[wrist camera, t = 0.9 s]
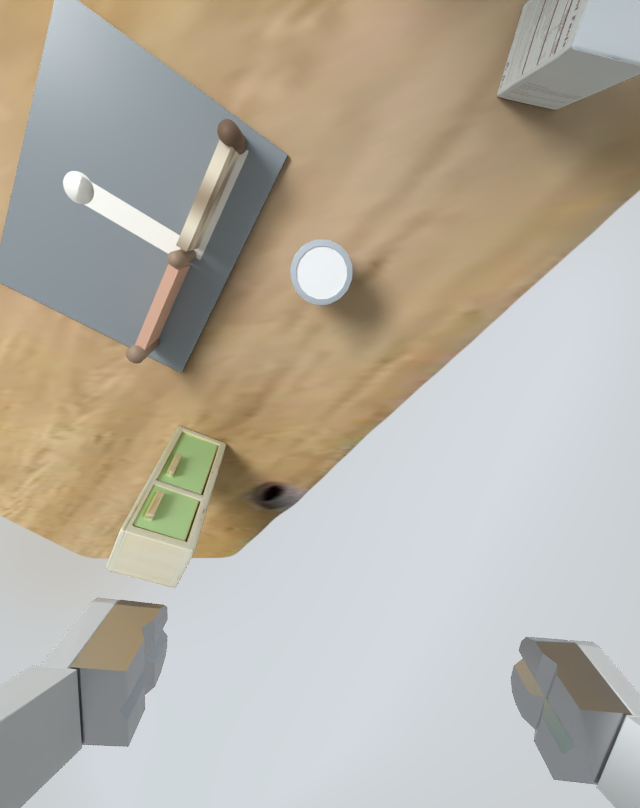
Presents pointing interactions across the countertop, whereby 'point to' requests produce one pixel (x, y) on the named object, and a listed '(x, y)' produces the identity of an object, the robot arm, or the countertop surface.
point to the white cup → (321, 272)
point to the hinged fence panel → (161, 305)
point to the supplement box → (571, 50)
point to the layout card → (123, 187)
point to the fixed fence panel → (213, 184)
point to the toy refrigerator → (169, 511)
